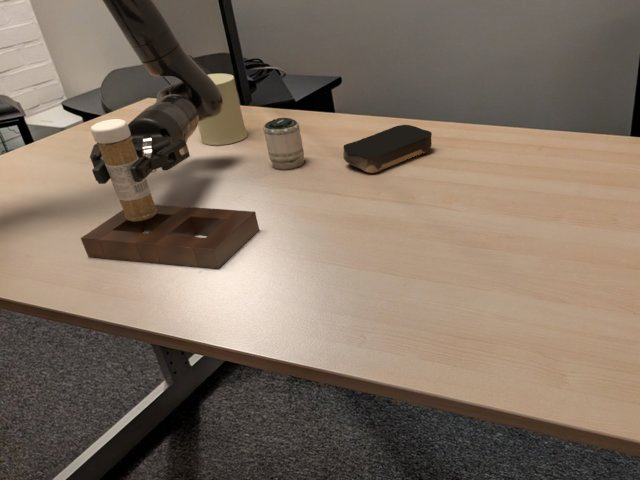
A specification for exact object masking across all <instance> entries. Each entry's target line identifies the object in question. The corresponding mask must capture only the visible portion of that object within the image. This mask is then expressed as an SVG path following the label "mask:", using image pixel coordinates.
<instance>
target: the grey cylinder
mask: <svg viewBox="0 0 640 480" xmlns="http://www.w3.org/2000/svg"><path fill="white" fill-rule="evenodd" d="M300 129H301V128H300V124H299V122H298V121H297V120H295V119H292V118H289V117H278V118H274V119H272V120H269V121H267V122H266V123H265V124H264V125H263V129H262V130H263V134H264V139H265V143H266V148H267V152H268V158H269V160H270V162H271V164H272V166H273V167H272V168H274V169H276V170H293V169H296V168H299V167H301V166H302V165H304V164H305V163H304V162H305V161H304V158H305V151H304V146H303V141H302V133H301V130H300Z"/></svg>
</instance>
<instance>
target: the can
mask: <svg viewBox="0 0 640 480" xmlns="http://www.w3.org/2000/svg"><path fill="white" fill-rule="evenodd" d="M207 75H208V76H209V77H210V78H211V79H212V81H213V82H214V83H215V84H216V86H217V87H218V89H219V91H220V93H221V95H222V99H223V107H222V110H221V112H220V113H219V114H218V115H217V116H215V117H212V118H209V119H206V120H203V121H200V122H198V125H197V127H198V130H199V135H200V141H201V144H204V145H206V146H207V145H208V146H226V145H227V146H228V145H231V144H236V143H238V142H241V141H243V140H245V139H246V138H247V137H248V132H247V129H246V126H245V122H244V121H245V120H244V118H243V114H242V108H241V105H240V100H239V94H238V92H237V91H238V90H237V86H236V80H235V76H234V75H232V74H230V73H208V74H207Z"/></svg>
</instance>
